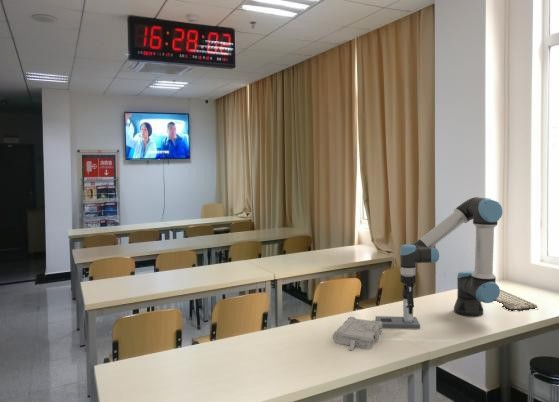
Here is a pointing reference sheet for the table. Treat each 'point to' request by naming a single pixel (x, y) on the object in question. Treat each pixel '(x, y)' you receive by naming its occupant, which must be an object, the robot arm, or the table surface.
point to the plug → (405, 313)
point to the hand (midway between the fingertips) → (408, 315)
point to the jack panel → (398, 322)
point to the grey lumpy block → (358, 333)
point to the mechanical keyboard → (514, 302)
